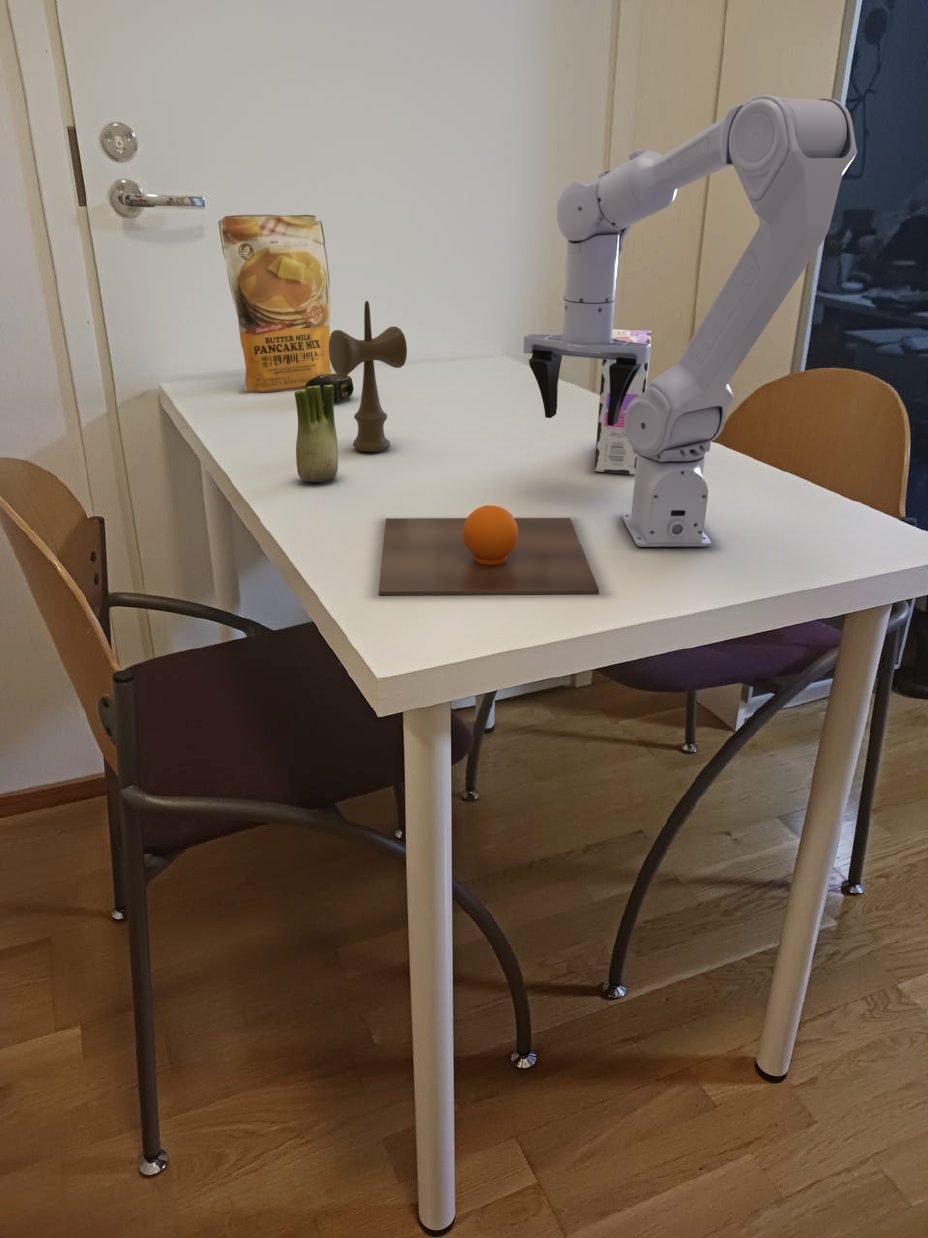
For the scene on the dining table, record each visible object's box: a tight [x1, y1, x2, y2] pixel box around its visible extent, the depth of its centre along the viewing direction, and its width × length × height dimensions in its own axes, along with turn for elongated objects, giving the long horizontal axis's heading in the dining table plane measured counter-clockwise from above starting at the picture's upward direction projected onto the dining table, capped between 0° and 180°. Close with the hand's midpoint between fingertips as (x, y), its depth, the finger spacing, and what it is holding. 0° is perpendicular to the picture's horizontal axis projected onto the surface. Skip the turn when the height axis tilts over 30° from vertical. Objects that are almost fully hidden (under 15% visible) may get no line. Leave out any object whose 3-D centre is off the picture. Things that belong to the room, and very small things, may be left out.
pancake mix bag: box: [217, 214, 332, 393], centre depth 164 cm, size 7×19×28 cm, turn 120°
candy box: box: [594, 328, 652, 476], centre depth 129 cm, size 14×6×16 cm, turn 168°
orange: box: [463, 504, 518, 565], centre depth 98 cm, size 6×6×6 cm
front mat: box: [378, 517, 600, 596], centre depth 101 cm, size 20×21×1 cm
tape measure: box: [305, 373, 354, 402], centre depth 161 cm, size 7×7×4 cm
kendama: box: [329, 300, 408, 453], centre depth 131 cm, size 6×10×20 cm, turn 123°
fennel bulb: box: [294, 385, 339, 484], centre depth 120 cm, size 6×5×12 cm
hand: (581, 419), depth 114 cm, fingers open, 7 cm apart
